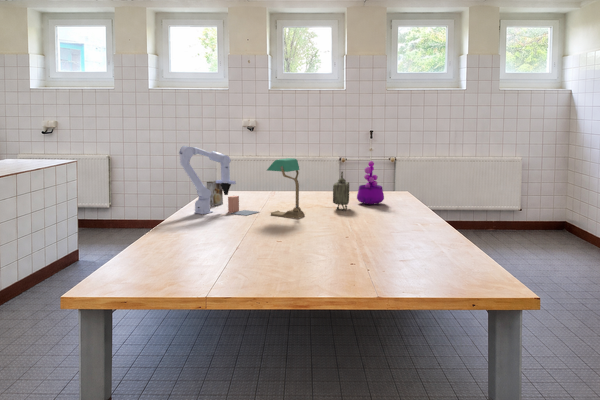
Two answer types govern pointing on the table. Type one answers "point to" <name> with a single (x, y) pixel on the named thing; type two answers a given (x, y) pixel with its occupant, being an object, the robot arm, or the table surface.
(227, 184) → the robot arm
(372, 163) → the decorative plant
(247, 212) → the mat
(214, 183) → the coffee box
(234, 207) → the block
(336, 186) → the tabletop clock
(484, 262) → the table surface
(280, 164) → the banker's lamp
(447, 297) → the table surface
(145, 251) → the table surface
